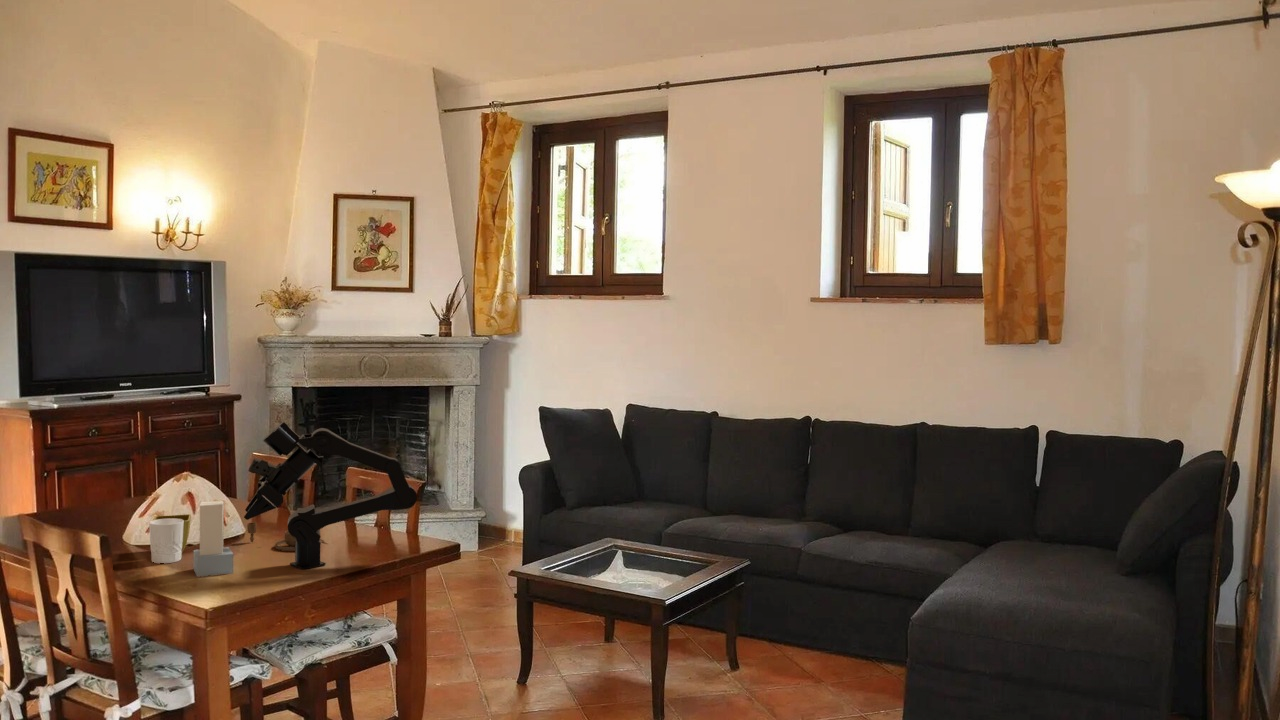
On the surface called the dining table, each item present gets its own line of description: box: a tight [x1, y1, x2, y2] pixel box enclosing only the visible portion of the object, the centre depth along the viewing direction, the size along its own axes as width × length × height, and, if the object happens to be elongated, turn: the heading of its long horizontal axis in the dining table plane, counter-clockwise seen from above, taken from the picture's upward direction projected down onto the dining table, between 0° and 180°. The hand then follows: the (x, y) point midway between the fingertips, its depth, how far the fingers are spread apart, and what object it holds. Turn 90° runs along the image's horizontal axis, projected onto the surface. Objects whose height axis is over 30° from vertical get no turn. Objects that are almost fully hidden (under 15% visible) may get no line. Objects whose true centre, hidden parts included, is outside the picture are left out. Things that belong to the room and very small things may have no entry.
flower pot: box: [152, 513, 192, 553], centre depth 259 cm, size 9×9×9 cm
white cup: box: [148, 518, 184, 564], centre depth 250 cm, size 8×8×10 cm
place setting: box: [246, 522, 329, 552], centre depth 271 cm, size 18×20×6 cm
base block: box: [193, 546, 234, 578], centre depth 241 cm, size 8×8×5 cm
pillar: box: [199, 500, 224, 555], centre depth 241 cm, size 5×5×12 cm
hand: (245, 514), depth 243 cm, fingers open, 9 cm apart
